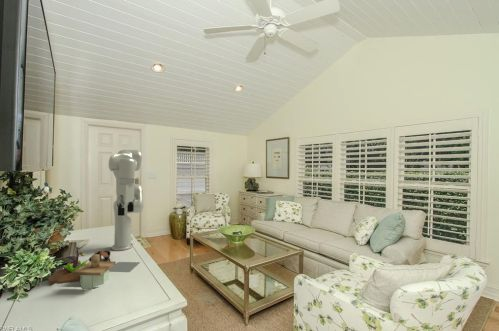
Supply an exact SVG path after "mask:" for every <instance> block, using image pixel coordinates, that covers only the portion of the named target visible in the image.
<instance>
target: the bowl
mask: <svg viewBox="0 0 499 331" xmlns="http://www.w3.org/2000/svg"><path fill="white" fill-rule="evenodd" d="M109 278H110V272H109V269H108V270H107V271H106V272H104V273H103V274H102V275H80V281H79V285H81V286H80V287H81V289H82V290H95V289H97V288H99V286H101V285H104V284H105V283H106V282H108V281H109Z"/></svg>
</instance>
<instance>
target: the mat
mask: <svg viewBox="0 0 499 331" xmlns="http://www.w3.org/2000/svg"><path fill="white" fill-rule="evenodd" d="M140 263H141V261H138V262H136V261H118V262H116V264H115V265H114V266H112V267H111V268H110V269H109V273H110V272H111V273H112V272H114V273H130V272H132V270H134V269H135V268H136V267H138V266H139V264H140Z"/></svg>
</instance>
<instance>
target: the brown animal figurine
mask: <svg viewBox="0 0 499 331" xmlns="http://www.w3.org/2000/svg"><path fill="white" fill-rule="evenodd" d="M96 254H99V255H100V261H103V259H104V261H111V258H110V256H111V251H110V250H109V249H107V250H104V251H103V250H102V249H101V250H98V251H96V252H95V253H94V254H93V255H96ZM102 257H103V258H102ZM90 261H91V256H90V257H89V258H88V262H90Z"/></svg>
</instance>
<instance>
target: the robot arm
mask: <svg viewBox="0 0 499 331" xmlns="http://www.w3.org/2000/svg"><path fill="white" fill-rule="evenodd" d="M142 158H143V156H142V152H141V151H140V150H139V149H121V150H119V151H118V152H117V154H114V155H113V154H112V155H111V156H109V159H108V168H109V171H111V172H112V173H113V175H114V177H115V180H116V181H115V195H116V200H115V201H113V206H112V207H113V213H114V234H113V235H114V238H113V239H114V240H113V241H114V243H113V245H111V250H113V251H117V252H119V251H126V250H129V249H132V248H133V247H134V243H132V240H133V239H134V238H133V237H132V236H131V235H132V219H131V217H130V216H129V215H128V214H138V213H142V212H143V209H144V195H143V194H144V193H143V187H142V185H141V184H140V183H139V184H138V183H135V176H136V173H135V172H136V171H140V169H141V166H142Z"/></svg>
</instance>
